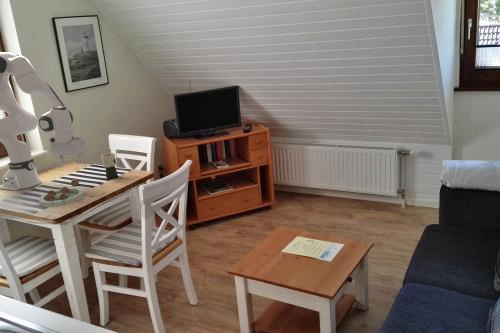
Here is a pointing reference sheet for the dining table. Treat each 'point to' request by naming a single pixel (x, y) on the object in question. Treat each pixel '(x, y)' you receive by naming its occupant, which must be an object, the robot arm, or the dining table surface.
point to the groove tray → (72, 196)
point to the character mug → (109, 165)
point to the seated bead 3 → (63, 196)
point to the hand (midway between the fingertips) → (71, 163)
